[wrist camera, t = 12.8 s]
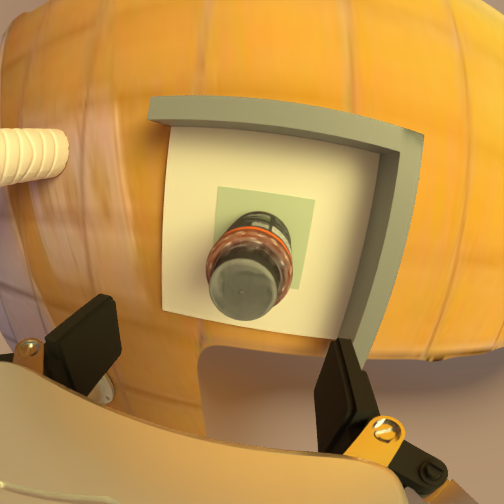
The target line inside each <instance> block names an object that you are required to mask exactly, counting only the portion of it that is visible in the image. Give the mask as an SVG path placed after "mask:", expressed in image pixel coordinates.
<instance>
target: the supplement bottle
mask: <svg viewBox="0 0 504 504" xmlns="http://www.w3.org/2000/svg"><path fill="white" fill-rule="evenodd" d="M292 277H293V262H292V249H291V238H290V234H289V231H288V229H287V227H286V226H285V224H284V223H283V222H282V221H281V220H280V219H279V218H278V217H277V216H275V215H273V214H271V213H268V212H263V211H254V212H249V213H247V214H244V215H242V216H241V217H240V218H238V219H237V220H236V221H235V222H234V223H233V224H232V225H231V226H230V227H229V228H228V230H227V231H226V232H225V233H224V234H223V235H222V236H221V237H220V239H219V240H218V241H217V242H216V243H215V244H214V246H213V247H212V249H211V250H210V252H209V255H208V258H207V261H206V279H207V282H208V285H209V294H210V297H211V300H212V302H213V303H214V305H215V306H216V308H217V309H218V310H219V311H220V312H222V313H223V314H224V315H225V316H227V317H229V318H232V319H234V320H239V321H251V320H255V319H258V318H261V317H262V316H264V315H265V314H267V313H268V312H269V311H270V310H271V309H272V308H273V307H274V306H276V305H277V304H278V303H279V302H280V301H281V300H282V299H283V298H284V297H285V295H286V294H287V292H288V291H289V289H290V286H291V282H292Z"/></svg>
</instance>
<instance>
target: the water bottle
mask: <svg viewBox="0 0 504 504" xmlns="http://www.w3.org/2000/svg"><path fill="white" fill-rule="evenodd" d="M68 148H69V143H68V139H67V137H66V136H65V133H64V132H63V131H61V130H59V129H31V128H24V129H20V128H13V129H9V128H3V129H0V187H3V186H6V185H12V184H16V183H17V182H18V183H23V182H27V181H33V180H39V179H47V178H53V177H56V176H58V175H59V174H60V173H61V172H62V171H63V169H64V168H65V165H66V162H67V160H68V156H69V149H68Z"/></svg>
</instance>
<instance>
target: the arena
mask: <svg viewBox="0 0 504 504" xmlns="http://www.w3.org/2000/svg"><path fill="white" fill-rule="evenodd" d="M147 120H151V121H154V122H158V123H161V124H165V125H168V126H171V132H170V140H169V149H168V158H167V169H166V181H165V194H164V211H163V234H162V310H165V311H169V312H173V313H178V314H182V315H187V316H191V317H196V318H201V319H205V320H210V321H216V322H221V323H226V324H231V325H237V326H242V327H248V328H254V329H260V330H266V331H273V332H280V333H286V334H294V335H301V336H309V337H317V338H326V339H335V340H336V339H337V338H345V339H351V341H352V344H353V346H354V349H355V352H356V355H357V358H358V361H359V364H360V367H361V370H362V368H363V366H364V363H365V361H366V359H367V356H368V354H369V352H370V349H371V347H372V345H373V342H374V340H375V337H376V335H377V332H378V330H379V327H380V324H381V322H382V319H383V316H384V313H385V311H386V308H387V305H388V302H389V299H390V296H391V293H392V290H393V287H394V284H395V280H396V277H397V274H398V270H399V267H400V263H401V260H402V256H403V252H404V248H405V244H406V240H407V236H408V232H409V228H410V223H411V219H412V214H413V209H414V204H415V199H416V193H417V187H418V181H419V174H420V167H421V159H422V151H423V141H424V135H423V134H421V133H418V132H415V131H412V130H409V129H406V128H403V127H399V126H396V125H393V124H390V123H386V122H383V121H379V120H375V119H372V118H368V117H364V116H360V115H356V114H352V113H347V112H343V111H338V110H333V109H328V108H323V107H317V106H312V105H306V104H299V103H292V102H285V101H277V100H268V99H258V98H247V97H231V96H196V95H191V96H157V97H151V99H150V105H149V112H148V119H147ZM254 211H263V212H268V213H271V214H273V215H275V216H277V217H278V218H279V219H280V220H281V221H282V222H283V223H284V224H285V226H286V227H287V229H288V231H289V234H290V238H291V249H292V262H293V277H292V282H291V286H290V289H289V291H288V292H287V294H286V295H285V297H284V298H283V299H282V300H281V301H280V302H279V303H278V304H277V305H276V306H274V307H273V308H272V309H271V310H270V311H269V312H268V313H267V314H265V315H264V316H262V317H261V318H258V319H255V320H251V321H239V320H234V319H232V318H229V317H227V316H225V315H224V314H223V313H222V312H220V311H219V310H218V309H217V308H216V306H215V305H214V303H213V302H212V300H211V297H210V294H209V285H208V282H207V279H206V261H207V258H208V255H209V252H210V250H211V249H212V247H213V246H214V244H215V243H216V242H217V241H218V240H219V239H220V237H221V236H222V235H223V234H224V233H225V232H226V231H227V230H228V228H229V227H230V226H231V225H232V224H233V223H234V222H235V221H236V220H237V219H238V218H240V217H241V216H242V215H244V214H247V213H249V212H254Z"/></svg>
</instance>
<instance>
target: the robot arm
mask: <svg viewBox="0 0 504 504" xmlns="http://www.w3.org/2000/svg"><path fill="white" fill-rule="evenodd" d="M45 340H46V343H45V344H43V343H42V341H40V340H39V339H36V338H28V339H24V340H22V341H21V342H19V343H18V344H17V345H16V347H15V351H14V353H10V354H1V355H0V504H478V503H477V502H476V501H475V500H474V499H473V498H472V497H471V496H470V495H469V494H468V493H466V491H465V490H464V489H462V488H461V487H460V486H459V485H458V484H457V483H456V482H455V481H454V480H451V481H449V480H448V479H447V477H448V470H447V467H446V465H445V464H444V463H443V462H442V461H441V460H439V459H437V458H435V457H434V456H432V455H430V454H428V453H426V452H424V451H422V450H421V449H419V448H417V447H415V446H414V445H412V444H410V443H409V442H407V441H405V440H404V437H405V429H404V427H403V425H402V424H401V423H400V422H399V421H398V420H396V419H395V418H392V417H390V416H380V413H379V410H378V406H377V403H376V400H375V397H374V394H373V391H372V388H371V385H370V381H369V379H368V376H367V373H366V372H365V371H364V370H363V371H362V370H361V367H360V364H359V361H358V358H357V355H356V352H355V349H354V346H353V344H352V341H351V339H345V338H337V339H336V340H335V341H331V343H330V346H329V349H328V352H327V355H326V358H325V361H324V364H323V367H322V370H321V372H320V375H319V378H318V380H317V383H316V386H315V389H314V400H315V412H316V426H317V439H318V452H308V451H307V452H306V451H293V450H282V449H274V448H266V447H258V446H250V445H244V444H238V443H232V442H226V441H222V440H216V439H212V438H207V437H203V436H199V435H195V434H191V433H187V432H183V431H179V430H176V429H172V428H169V427H165V426H162V425H159V424H155V423H152V422H149V421H146V420H143V419H140V418H138V417H135V416H132V415H129V414H127V413H124V412H121V411H119V410H116V409H114V408H111V407H109V406H106V405H104V404H106V403H109V402H111V400H112V399H113V398H114V395H115V390H114V386H113V384H112V382H111V380H110V378H109V376H108V375H107V373H106V372H107V371H108V369H109V368H110V367H111V366H112V364H113V363H114V362H115V361H116V359H117V358H118V357H119V356H120V354H121V350H122V347H121V341H120V334H119V327H118V320H117V311H116V303H115V301H114V300H113V298H112V297H111V296H108V295H104V294H98V295H97V296H96V297H94V298H93V299H92V300H90V301H89V302H88V303H87V304H85V305H84V306H83V307H81V308H80V309H79V310H78V311H76V312H75V313H74V314H73V315H71V316H70V317H69V318H68V319H66V320H65V321H64V322H63V323H61V324H60V325H59V326H58V327H57V328H55V329H54V330H53V331H52V332H50V333H49V334H48V335H47V336H46V337H45Z"/></svg>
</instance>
